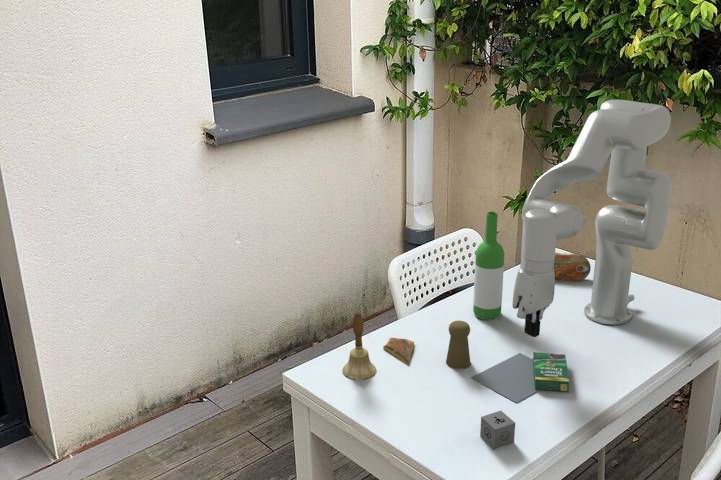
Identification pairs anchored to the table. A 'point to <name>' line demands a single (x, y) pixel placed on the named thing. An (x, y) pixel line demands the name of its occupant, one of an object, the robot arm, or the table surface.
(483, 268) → the wine bottle
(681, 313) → the table surface
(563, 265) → the tin
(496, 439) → the dice cube
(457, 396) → the table surface
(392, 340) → the shard
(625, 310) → the robot arm
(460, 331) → the cork
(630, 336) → the table surface
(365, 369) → the hand bell
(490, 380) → the slate mat
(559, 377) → the coffee box
